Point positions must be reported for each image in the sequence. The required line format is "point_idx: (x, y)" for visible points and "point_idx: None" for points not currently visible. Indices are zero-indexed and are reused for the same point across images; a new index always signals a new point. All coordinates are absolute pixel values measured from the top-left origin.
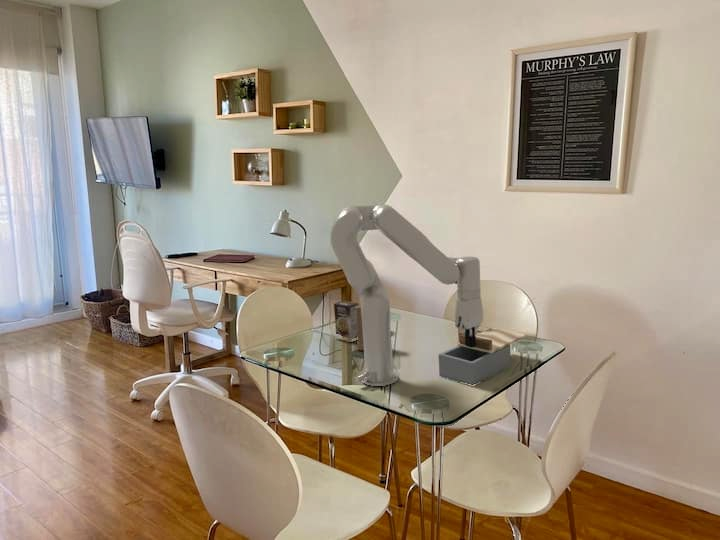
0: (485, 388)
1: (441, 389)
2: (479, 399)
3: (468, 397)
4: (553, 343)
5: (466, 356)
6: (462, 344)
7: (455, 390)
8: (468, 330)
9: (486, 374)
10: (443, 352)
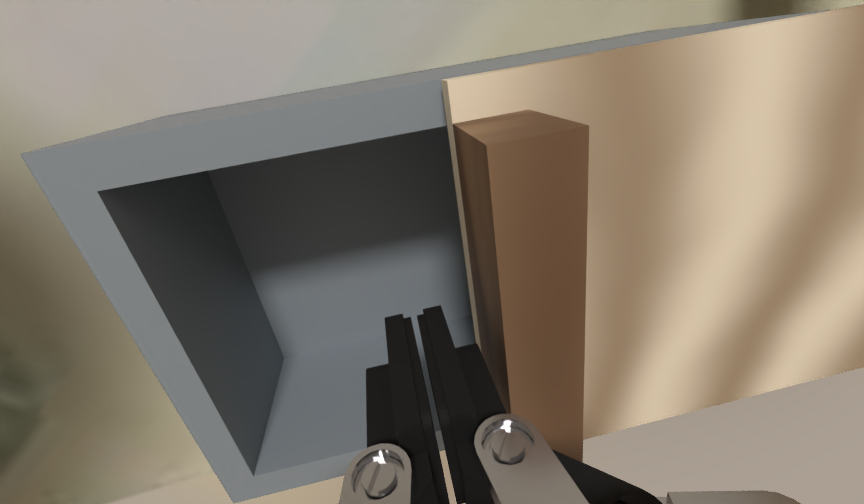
0: None
1: (63, 299)
2: (206, 471)
3: (167, 439)
4: None
5: None
6: (458, 168)
7: None
8: (492, 483)
9: None
10: (125, 144)
